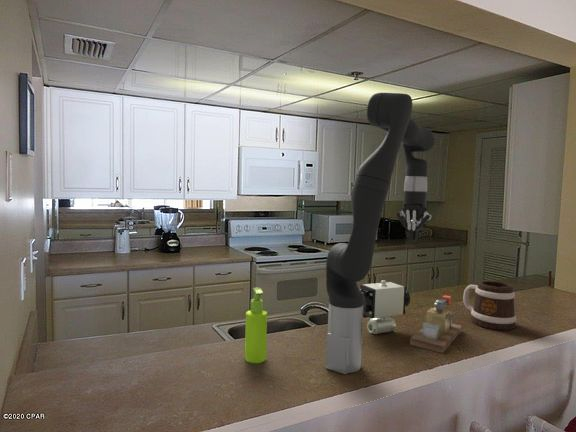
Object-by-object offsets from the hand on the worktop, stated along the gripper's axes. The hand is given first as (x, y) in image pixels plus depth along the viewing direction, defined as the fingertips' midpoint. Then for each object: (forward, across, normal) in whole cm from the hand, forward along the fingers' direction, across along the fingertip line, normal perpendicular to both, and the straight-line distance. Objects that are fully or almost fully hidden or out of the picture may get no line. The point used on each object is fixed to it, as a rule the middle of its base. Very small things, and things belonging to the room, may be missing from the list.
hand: (412, 241), depth 138 cm
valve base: (+31, -10, -1) cm, 33 cm away
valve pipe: (+29, -10, -1) cm, 31 cm away
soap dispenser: (+31, +13, +56) cm, 66 cm away
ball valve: (+31, +5, +9) cm, 33 cm away
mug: (+31, -13, -32) cm, 47 cm away
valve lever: (+22, -9, -6) cm, 24 cm away
